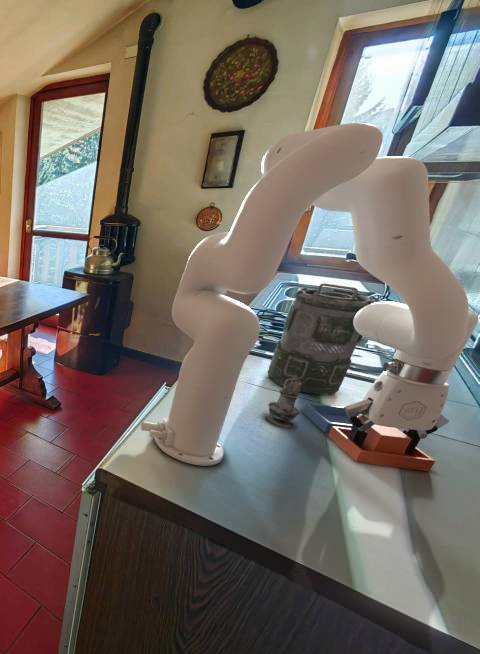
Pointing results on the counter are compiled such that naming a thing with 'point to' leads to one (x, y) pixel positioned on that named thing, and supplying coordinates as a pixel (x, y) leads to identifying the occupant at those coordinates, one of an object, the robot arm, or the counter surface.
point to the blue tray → (327, 416)
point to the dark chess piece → (285, 404)
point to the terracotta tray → (360, 455)
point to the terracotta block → (386, 440)
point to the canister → (318, 339)
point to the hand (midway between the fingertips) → (378, 447)
